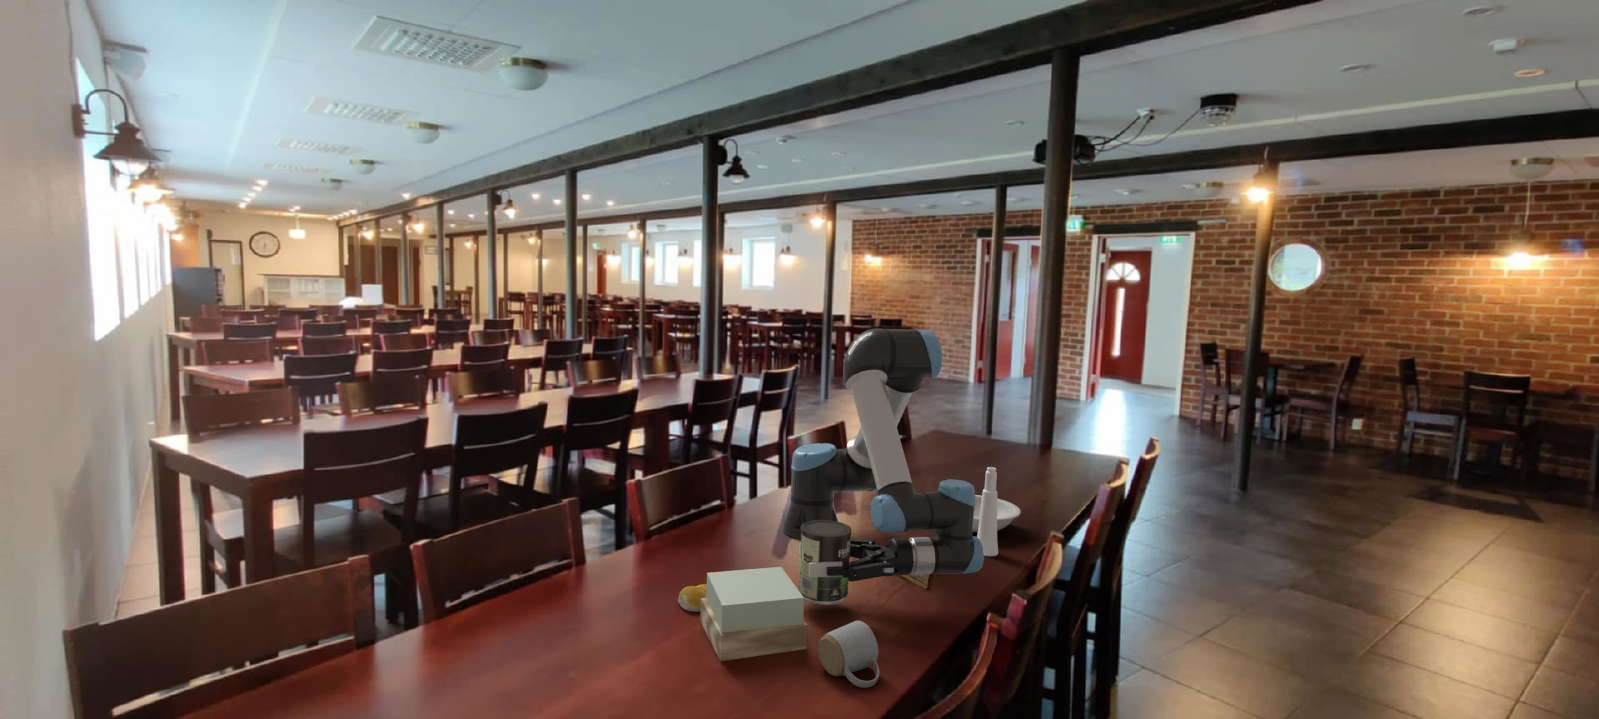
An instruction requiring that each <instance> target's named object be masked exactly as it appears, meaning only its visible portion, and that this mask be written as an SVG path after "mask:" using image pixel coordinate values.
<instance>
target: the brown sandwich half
mask: <svg viewBox="0 0 1599 719" xmlns="http://www.w3.org/2000/svg"><path fill="white" fill-rule="evenodd" d="M899 577H901V578H904V579H905V580H907V581H908V582H910V583H912V584H913V585H916V586H918V587H920V588H923V589H924V590H927V589H928V584H929V579H930V574H923V576H919V575H912V574H911V573H910V574H909V575H899Z"/></svg>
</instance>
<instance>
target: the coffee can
mask: <svg viewBox="0 0 1599 719" xmlns="http://www.w3.org/2000/svg"><path fill="white" fill-rule="evenodd" d="M851 537H852V527H851V526H850V525H848V524H846V523H843V522H840V521H838V522H837V521H831V520H814V521H809V522H806V523H804V524H802V525H801V539H800V543H801V554H800V556H799V560H800V561H799V582H798V590H799V592H800V593H801V594H802V596H803V597H804V602H805V601H806V602H807V603H811V604H814V605H815V604H816V605H821V606H823V605H824V606H832V605H837V604H838V605H839V604H841V603H844V602H845V601H846V600H847V599H848V597H849V581H848V578H844V577H843V576H834V577H809V563H811V562H842V566H843V562H844V560H845V561H847V562H850V560H851V559H850V558H851V557H850V540H851V539H852V538H851Z"/></svg>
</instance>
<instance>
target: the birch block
mask: <svg viewBox="0 0 1599 719" xmlns="http://www.w3.org/2000/svg"><path fill="white" fill-rule="evenodd" d="M699 616H700V619H699V620H700V624H701V626H702V628H703V630H704V631H705V633H706V635H707V638H708V640H709V642H710V644H711V646H712V647H713V649H714V651H715V653H716V656H717V657H718V659H719V662H725V661H733V660H737V659H738V660H739V659H747V658H752V657H759V656H760V657H761V656H765V655H766V656H767V655H773V654H774V655H775V654H780V653H786V652H793V651H800V650H807V640H808V639H807V637H808V636H807V635H808V623H807V622H806V621H805V620H804V619H803V624H801V625H791V626H782V627H773V628H763V629H754V630H744V631H735V632H726V633H721V631H720V628H719V626H718V624H717V621H716V619H715V617H714V614H713V612H712V610H711V607H710V605H709V603H708V600H707V598H701V611H700V615H699Z"/></svg>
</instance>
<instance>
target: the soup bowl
mask: <svg viewBox="0 0 1599 719" xmlns="http://www.w3.org/2000/svg"><path fill="white" fill-rule="evenodd" d="M981 501H982V495H980V494H975V508H974V518H973V529H972V532H973V533H978V527H979V519H980V510H981ZM1020 515H1021V509H1020V508H1019V507H1018V506H1017V505H1016V504H1014V503H1012V502H1010V501H1007V500H1004V499H1000V498H997V532H998V531H1000V530H1002V529H1004V528H1006V527H1007V526H1009V525H1010V523H1011V522H1012V521H1013V520H1014V519H1017V518H1018V517H1019V516H1020Z"/></svg>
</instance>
